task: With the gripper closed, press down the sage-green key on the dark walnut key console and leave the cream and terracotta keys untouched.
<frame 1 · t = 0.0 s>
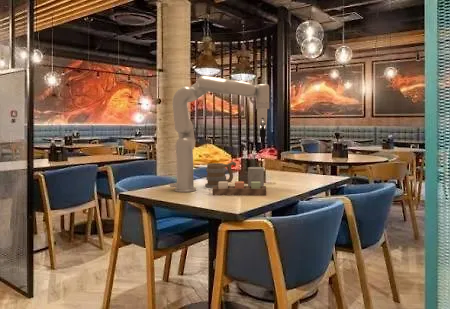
hand: (262, 136, 233), 31 cm above the table, fingers open, 9 cm apart
terracotta key: (239, 186, 227), point 4 cm above the table, slide at 0.0 cm
grey stone cylinder: (255, 188, 244), on the table
key console: (239, 193, 227), on the table
tankard: (221, 186, 254), on the table
sage key: (255, 186, 226), point 4 cm above the table, slide at 0.0 cm
cream key: (223, 186, 227), point 4 cm above the table, slide at 0.0 cm
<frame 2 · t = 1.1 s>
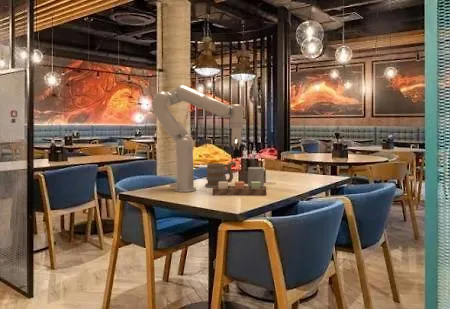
hand: (236, 156, 237), 20 cm above the table, fingers open, 7 cm apart
nothing on the table moved.
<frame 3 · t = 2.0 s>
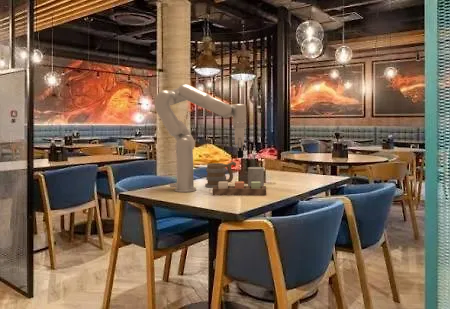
hand: (240, 157, 235), 19 cm above the table, fingers closed
nothing on the table moved.
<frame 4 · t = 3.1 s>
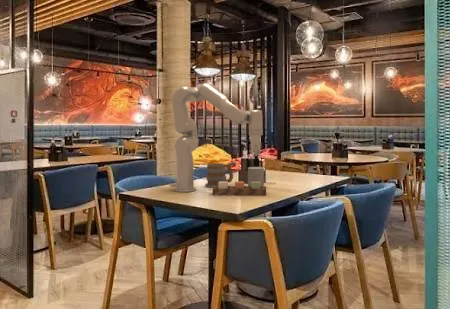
hand: (256, 166, 225), 15 cm above the table, fingers closed
nothing on the table moved.
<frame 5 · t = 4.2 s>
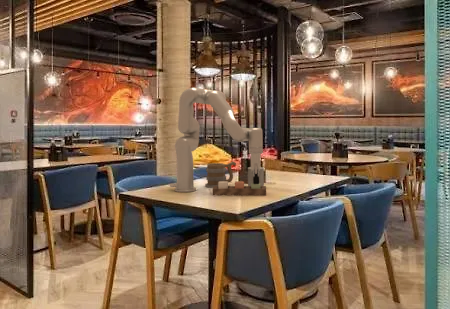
hand: (256, 183, 226), 6 cm above the table, fingers closed
sage key: (255, 187, 226), point 3 cm above the table, slide at 0.9 cm, touching gripper
everything else where it was.
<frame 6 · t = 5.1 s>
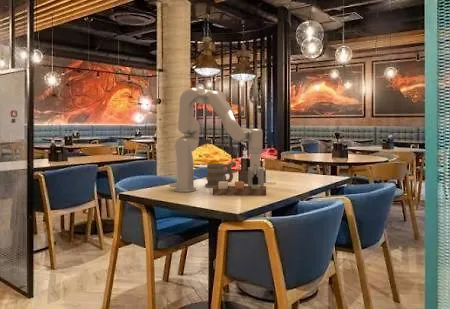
hand: (255, 184, 226), 5 cm above the table, fingers closed
sage key: (255, 189, 226), point 2 cm above the table, slide at 1.9 cm
everything else where it was.
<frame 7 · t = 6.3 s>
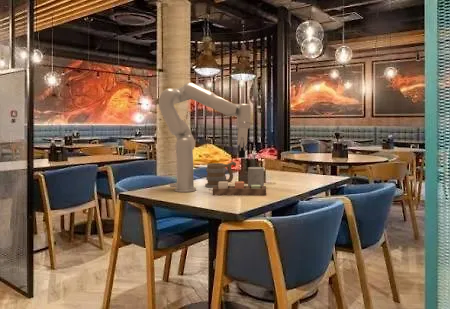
hand: (242, 157, 234), 19 cm above the table, fingers closed
nothing on the table moved.
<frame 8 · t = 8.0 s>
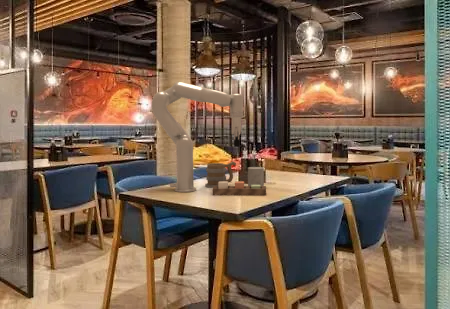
hand: (236, 146, 240), 25 cm above the table, fingers closed
nothing on the table moved.
at the end: sage key slide at 1.9 cm; terracotta key slide at 0.0 cm; cream key slide at 0.0 cm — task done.
